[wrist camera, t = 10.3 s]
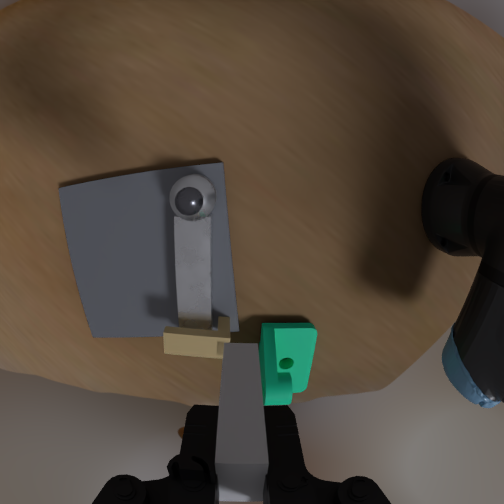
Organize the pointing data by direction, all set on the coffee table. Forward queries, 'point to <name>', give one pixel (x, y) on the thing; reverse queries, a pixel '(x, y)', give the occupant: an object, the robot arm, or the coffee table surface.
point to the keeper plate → (145, 259)
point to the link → (193, 249)
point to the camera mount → (289, 370)
